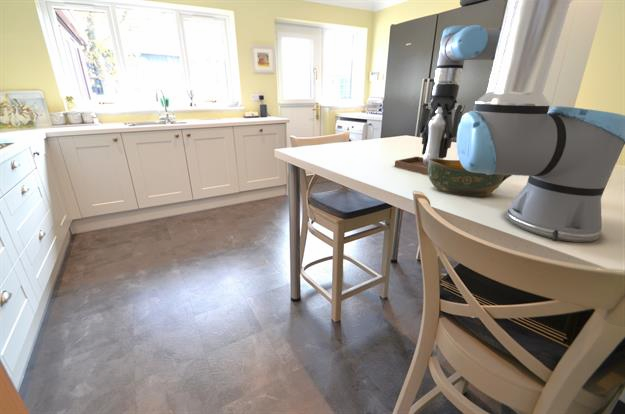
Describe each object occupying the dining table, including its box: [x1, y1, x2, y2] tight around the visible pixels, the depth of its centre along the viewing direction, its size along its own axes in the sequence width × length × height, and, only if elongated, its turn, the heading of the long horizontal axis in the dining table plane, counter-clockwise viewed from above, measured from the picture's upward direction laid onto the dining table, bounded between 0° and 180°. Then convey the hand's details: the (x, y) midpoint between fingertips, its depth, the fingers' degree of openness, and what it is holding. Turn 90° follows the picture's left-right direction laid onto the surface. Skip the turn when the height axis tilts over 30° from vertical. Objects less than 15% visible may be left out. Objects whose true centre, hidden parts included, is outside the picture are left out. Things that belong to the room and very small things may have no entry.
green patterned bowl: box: [427, 159, 512, 198], centre depth 77 cm, size 13×20×10 cm, turn 49°
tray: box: [394, 156, 428, 176], centre depth 100 cm, size 14×22×2 cm, turn 37°
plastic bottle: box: [422, 107, 446, 166], centre depth 97 cm, size 6×7×20 cm
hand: (433, 155), depth 99 cm, fingers closed on plastic bottle, 6 cm apart
